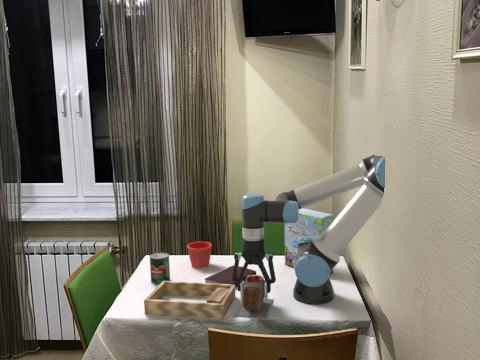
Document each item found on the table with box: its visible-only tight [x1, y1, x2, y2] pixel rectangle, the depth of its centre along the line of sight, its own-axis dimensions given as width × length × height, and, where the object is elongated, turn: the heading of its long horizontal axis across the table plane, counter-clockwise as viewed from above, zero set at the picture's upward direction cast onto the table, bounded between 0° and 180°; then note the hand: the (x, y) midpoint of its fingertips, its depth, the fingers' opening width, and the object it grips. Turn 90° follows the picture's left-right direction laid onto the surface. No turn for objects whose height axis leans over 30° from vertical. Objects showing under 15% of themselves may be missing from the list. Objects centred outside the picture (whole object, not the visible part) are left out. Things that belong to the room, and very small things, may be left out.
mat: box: [234, 298, 274, 319], centre depth 184 cm, size 11×16×1 cm
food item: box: [241, 274, 266, 310], centre depth 182 cm, size 14×8×10 cm, turn 173°
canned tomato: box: [149, 252, 171, 285], centre depth 212 cm, size 8×8×11 cm
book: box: [204, 265, 257, 288], centre depth 212 cm, size 13×19×3 cm, turn 143°
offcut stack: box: [206, 288, 229, 304], centre depth 185 cm, size 6×15×5 cm, turn 168°
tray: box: [143, 280, 236, 320], centre depth 187 cm, size 28×19×5 cm
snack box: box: [283, 207, 335, 275], centre depth 221 cm, size 22×9×26 cm, turn 42°
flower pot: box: [186, 241, 213, 269], centre depth 230 cm, size 11×11×10 cm
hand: (254, 300), depth 183 cm, fingers closed on food item, 8 cm apart
